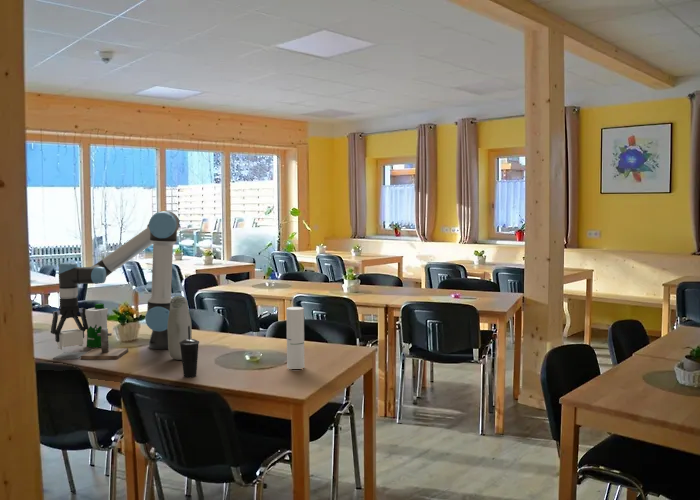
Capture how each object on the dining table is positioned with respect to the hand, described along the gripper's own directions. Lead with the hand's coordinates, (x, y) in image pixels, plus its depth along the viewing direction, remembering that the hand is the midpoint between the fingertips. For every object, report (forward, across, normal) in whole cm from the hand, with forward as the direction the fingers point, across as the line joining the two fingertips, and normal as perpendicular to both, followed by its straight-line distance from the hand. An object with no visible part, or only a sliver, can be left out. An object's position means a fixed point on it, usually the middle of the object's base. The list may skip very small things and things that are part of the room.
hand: (70, 347), depth 285 cm
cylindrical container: (+4, -57, +89) cm, 106 cm away
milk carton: (+4, -17, -11) cm, 21 cm away
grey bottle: (+4, -31, +41) cm, 52 cm away
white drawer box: (-1, 0, 0) cm, 1 cm away
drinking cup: (+4, -20, +68) cm, 71 cm away
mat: (+4, 0, 0) cm, 4 cm away
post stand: (+4, -12, +10) cm, 16 cm away
